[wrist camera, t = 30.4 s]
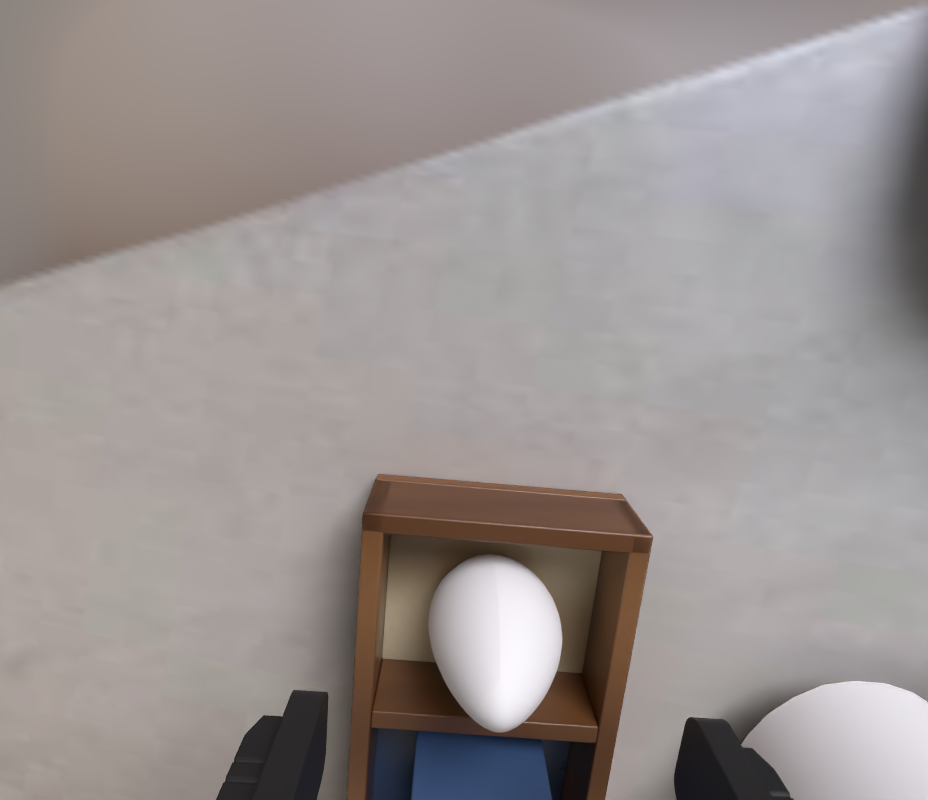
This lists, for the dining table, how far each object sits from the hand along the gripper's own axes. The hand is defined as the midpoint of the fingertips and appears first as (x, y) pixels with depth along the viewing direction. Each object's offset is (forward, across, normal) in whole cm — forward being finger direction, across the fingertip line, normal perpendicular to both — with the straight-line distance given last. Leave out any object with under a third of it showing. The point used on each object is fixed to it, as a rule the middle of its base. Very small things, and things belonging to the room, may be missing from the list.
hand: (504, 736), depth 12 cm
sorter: (+7, 0, +3) cm, 8 cm away
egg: (+6, 0, 0) cm, 6 cm away
